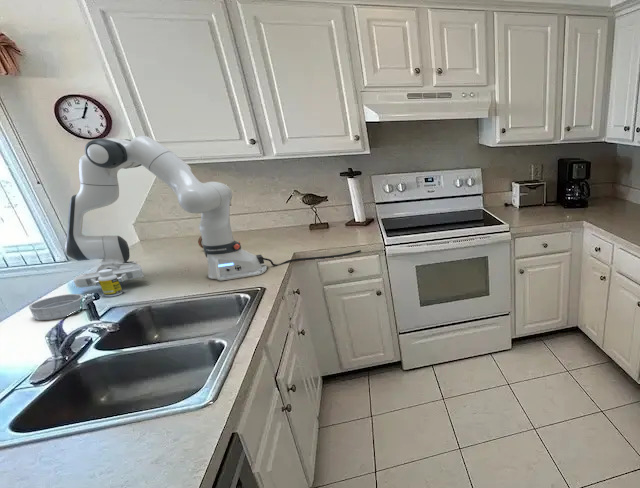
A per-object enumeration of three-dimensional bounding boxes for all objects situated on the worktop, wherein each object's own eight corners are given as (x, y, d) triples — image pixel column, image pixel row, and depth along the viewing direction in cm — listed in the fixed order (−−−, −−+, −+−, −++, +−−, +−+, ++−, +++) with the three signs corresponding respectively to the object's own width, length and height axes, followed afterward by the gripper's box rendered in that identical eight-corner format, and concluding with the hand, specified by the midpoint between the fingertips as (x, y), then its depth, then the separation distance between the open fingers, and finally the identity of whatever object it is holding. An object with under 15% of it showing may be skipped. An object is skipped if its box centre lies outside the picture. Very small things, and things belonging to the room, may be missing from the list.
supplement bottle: (119, 296, 158) (109, 272, 154) (101, 297, 156) (91, 273, 153) (126, 291, 163) (117, 267, 159) (109, 292, 161) (100, 269, 157)
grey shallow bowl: (95, 303, 151) (90, 292, 150) (75, 317, 140) (70, 305, 138) (49, 308, 147) (44, 296, 146) (24, 323, 136) (18, 311, 134)
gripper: (73, 270, 160) (67, 279, 150) (140, 260, 171) (140, 268, 161) (79, 285, 162) (74, 295, 152) (145, 274, 174) (145, 283, 164)
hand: (108, 281), depth 157 cm, fingers closed on supplement bottle, 5 cm apart
